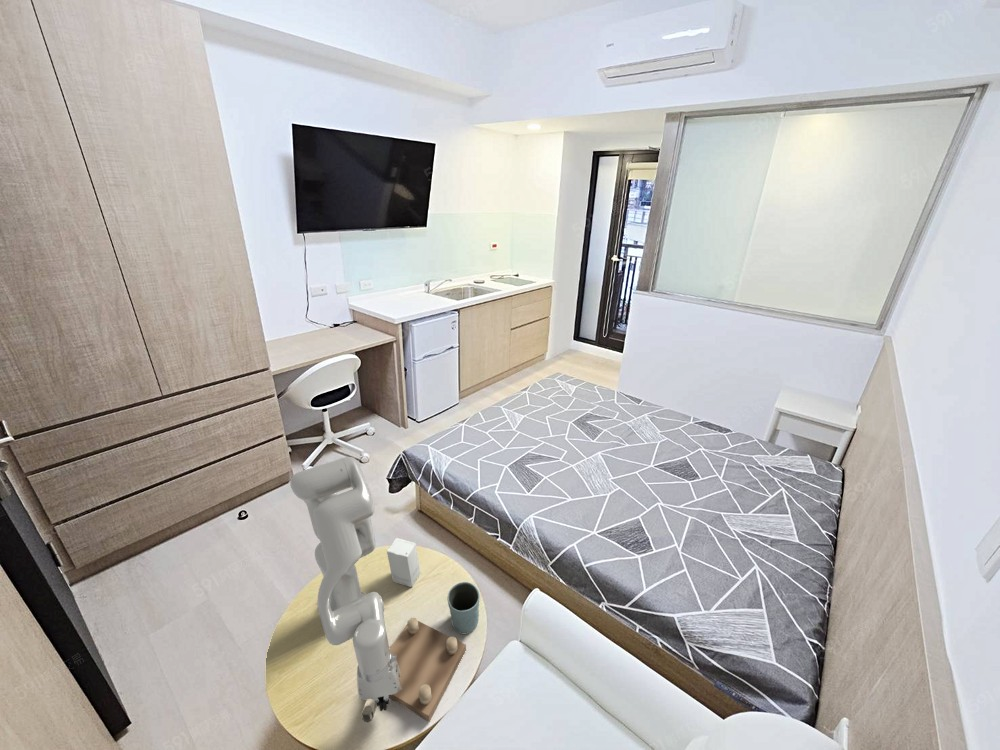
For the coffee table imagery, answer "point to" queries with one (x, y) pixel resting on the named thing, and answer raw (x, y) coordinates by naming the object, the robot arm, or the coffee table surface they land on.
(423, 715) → the stool seat
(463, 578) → the coffee table surface
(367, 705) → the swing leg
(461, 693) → the coffee table surface
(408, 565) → the skincare box
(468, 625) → the teal cup
